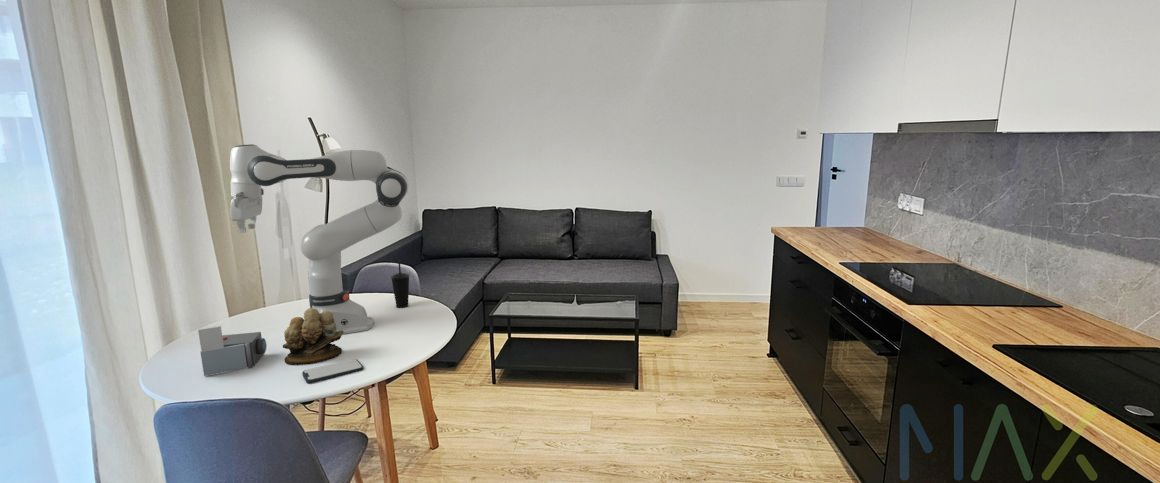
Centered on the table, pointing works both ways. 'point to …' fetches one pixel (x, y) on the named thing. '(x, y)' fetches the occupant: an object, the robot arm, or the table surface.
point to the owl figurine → (312, 338)
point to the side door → (221, 352)
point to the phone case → (331, 371)
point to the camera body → (253, 339)
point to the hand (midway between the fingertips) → (247, 230)
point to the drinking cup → (401, 288)
